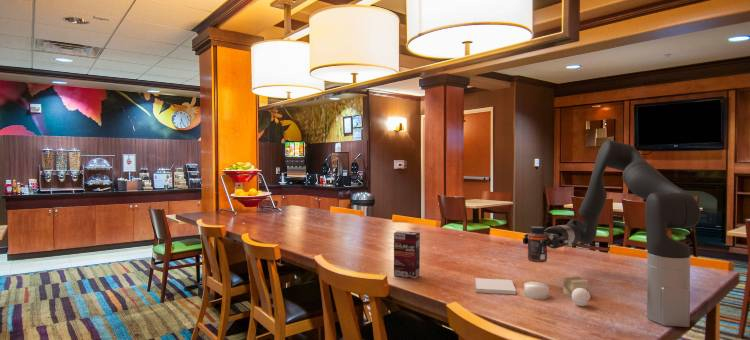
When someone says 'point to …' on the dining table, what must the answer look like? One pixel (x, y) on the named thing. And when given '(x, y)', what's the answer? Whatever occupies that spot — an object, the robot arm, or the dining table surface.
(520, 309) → the dining table surface
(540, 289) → the white rounded puck
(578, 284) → the maple block
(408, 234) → the supplement box
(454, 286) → the dining table surface
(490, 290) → the plate
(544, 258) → the supplement bottle
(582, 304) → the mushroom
